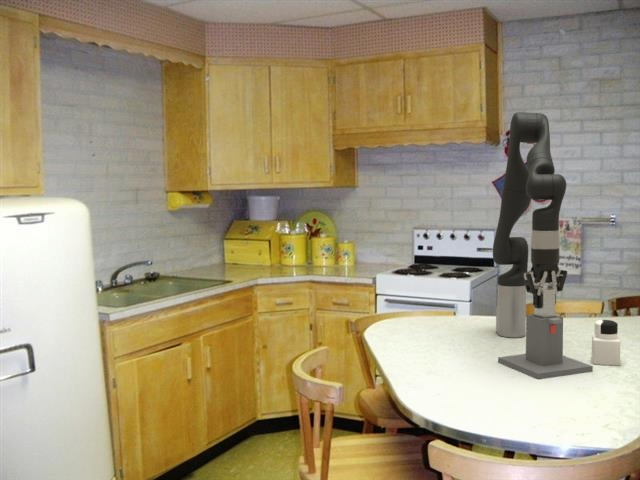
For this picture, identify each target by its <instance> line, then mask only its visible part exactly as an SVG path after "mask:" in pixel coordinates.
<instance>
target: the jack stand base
mask: <svg viewBox="0 0 640 480" xmlns="http://www.w3.org/2000/svg"><path fill="white" fill-rule="evenodd" d="M563 349H564V317H563V316H560V315H556V314H555V317H553V318H544V319H543V318H539V317H536V316H534V313H533V314H526V335H525V353H522V354H516V355H515V354H513V355H508V356H507V355H506V356H499V357H497V363H499V364H500V365H503V366H506V367H508V368H509V369H513V370H516V371H517V372H521V373H522V374H525V375H527V376H529V377H532V378H535V379H536V380H541V379H542V380H543V379H547V378H548V379H549V378H554V377H555V378H556V377H563V376H569V375H576V374H582V373H583V374H584V373H585V374H586V373H591V372H593V365H591V364H589V363H585V362H582V361H579V360H576V359H574V358H571V357H569V356H565V355H563V353H564V352H563V351H564V350H563Z"/></svg>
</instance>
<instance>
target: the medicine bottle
mask: <svg viewBox="0 0 640 480" xmlns="http://www.w3.org/2000/svg"><path fill="white" fill-rule="evenodd" d="M618 326H619V324H618V322H616V321H615V320H611V319H599V320H596V321H595V322H594V334H591V361H592V364H593V365H601V366H602V365H603V366H616V367H617V366H620V365H621V339H620V337H619V335H618Z"/></svg>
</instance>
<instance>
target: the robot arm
mask: <svg viewBox="0 0 640 480" xmlns="http://www.w3.org/2000/svg"><path fill="white" fill-rule="evenodd" d="M510 120H511V121H510V126H509V136H508V137H509V139H508V148H507V149H508V150H507V160H506V168H505V174H504V180H503V187H502V190H501V191H502V192H501V203H500V211H499V216H498V222H497V226H496V230H495V236H494V240H493V245H492V259H493V261H494V263H495V264H496V265H501V266H507V265H508V266H509V265H512V266H511V268H510V269H509V270H508V271H506V272H504V273H502V274H499V275H498V277H497V304H496V305H495V311H496V312H495V314H496V315H495V318H496V319H495V329H496V330H495V333H496V334H497V336H501V337H504V338H505V337H506V338H522V337H526V315H527V293H529V294H531V295H532V305H533V308H534V307H535V308H538V309H540V308H541V291H542V288H543V287H545V286H546V287H547V288H552V289H555V306H556V304H557V294H558V293H559V292H562V291H563V290H564V286H565V282H566V280H567V279H566V278H567V276H568V271H567V270H566V269H565V270H564V269H560V268H559V264H560V247H561V246H560V245H561V244H560V242H561V240H560V239H561V238H560V231H559V230H560V226H559V225H560V211H561V208H562V203H563V200H564V197H565V194H566V191H567V182H566V181H567V180H566V178H565V177H564V176H563V175H562V174H559V173H555V171H556V169H555V165H554V161H553V157H552V154H551V137H550V136H551V135H550V124H549V123H550V122H549V119H548V116H546V114H544V113H541V112H527V111H525V112H523V111H521V112H519V111H517V112H514V113H513V115H512V117H511V119H510ZM521 143H523V144H525V143H526V144H529V143H530V144H534V145H533V146H532V147H531V149H529V151H528V152H527V156H526V163H525V162H524V159H523V156H522V154H521V148H520V145H521ZM532 200H533V201H550V204H548V206H545V207H540V208H537V209H534V210H533V211H532V217H531V219H532V221H531V222H532V223H531V225H532V227H531V236H530V262H531V268H530V270H528V265H529V264H528V263H529V244H528V241H527V239H526V238H525V237H524V236H522V237H521V236H511V233H512V230H513V228H514V226H515V224H516V223H517V222H518V220H520V218H521V217H522V216H523V215H524V213H525V212H526V211H527V210H528V208H529V206H530V205H531V202H532Z"/></svg>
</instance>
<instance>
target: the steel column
mask: <svg viewBox="0 0 640 480" xmlns="http://www.w3.org/2000/svg"><path fill="white" fill-rule="evenodd" d="M533 308H534V309H533V314H534V316H536V317H539V318H543V319H544V318H553V317H555V315H556V305H555V289H552V288H547V286H544V287H543V288H542V291H541V308H540V309H538V308H535V307H534V306H533Z"/></svg>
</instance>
